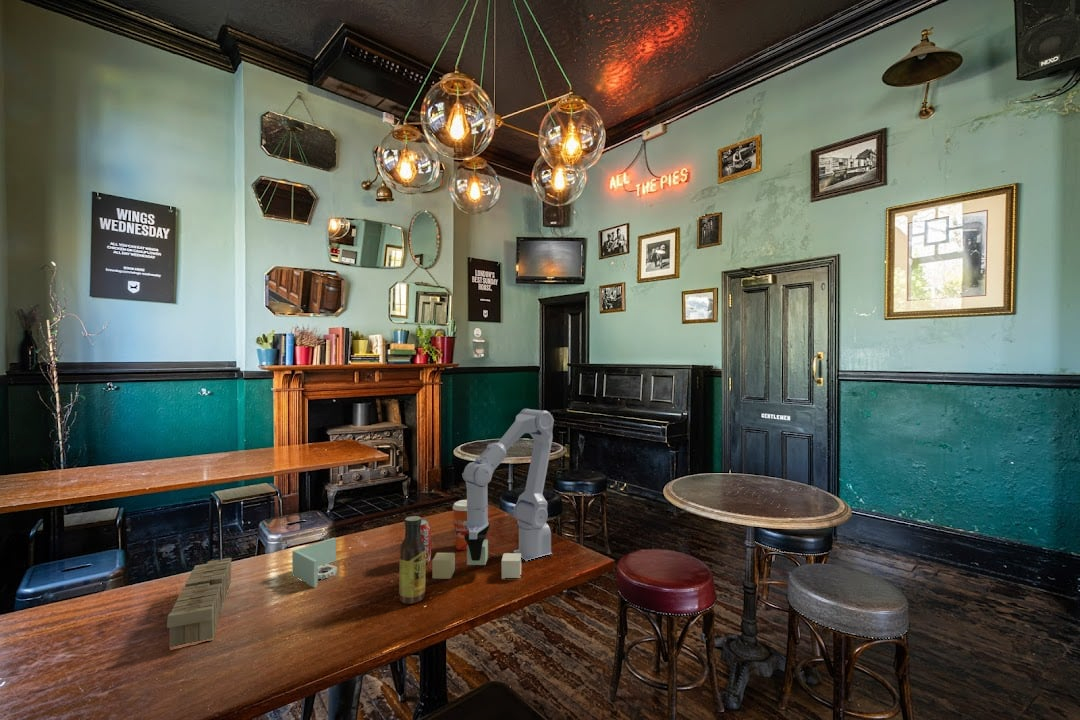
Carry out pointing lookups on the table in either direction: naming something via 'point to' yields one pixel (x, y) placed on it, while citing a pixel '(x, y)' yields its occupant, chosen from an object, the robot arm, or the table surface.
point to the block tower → (200, 603)
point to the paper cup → (460, 524)
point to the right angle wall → (314, 561)
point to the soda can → (426, 537)
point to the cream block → (511, 565)
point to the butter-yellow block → (443, 565)
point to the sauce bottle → (412, 563)
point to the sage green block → (483, 555)
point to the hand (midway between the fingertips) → (477, 555)
